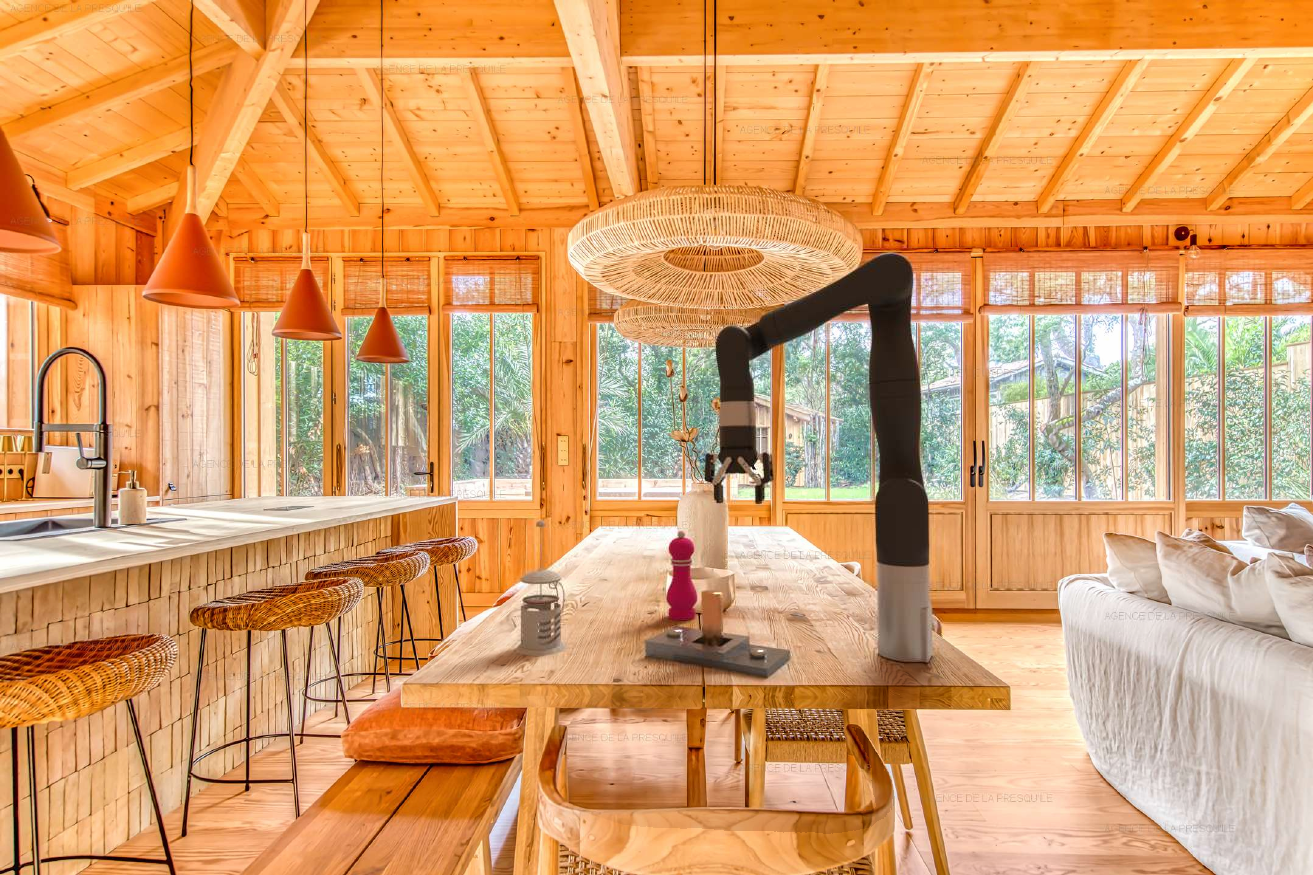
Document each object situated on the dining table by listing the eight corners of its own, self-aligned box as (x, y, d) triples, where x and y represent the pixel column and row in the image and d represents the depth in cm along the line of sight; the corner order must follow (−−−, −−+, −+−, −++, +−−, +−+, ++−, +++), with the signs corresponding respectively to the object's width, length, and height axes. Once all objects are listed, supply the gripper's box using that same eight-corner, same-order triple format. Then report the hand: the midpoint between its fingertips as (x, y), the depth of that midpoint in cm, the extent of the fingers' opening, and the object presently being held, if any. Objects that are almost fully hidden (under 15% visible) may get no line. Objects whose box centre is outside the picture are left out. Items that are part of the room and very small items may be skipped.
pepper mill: (700, 614, 156) (699, 529, 157) (693, 621, 149) (693, 532, 150) (670, 612, 158) (670, 528, 159) (662, 619, 151) (662, 532, 152)
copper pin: (726, 655, 124) (726, 591, 124) (717, 661, 121) (717, 595, 121) (707, 652, 126) (706, 589, 126) (698, 658, 123) (697, 593, 123)
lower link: (790, 658, 122) (790, 644, 122) (767, 677, 112) (767, 662, 112) (702, 644, 131) (702, 632, 131) (673, 661, 121) (673, 647, 121)
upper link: (749, 652, 126) (749, 631, 126) (723, 670, 116) (723, 647, 116) (675, 640, 134) (675, 620, 134) (645, 656, 124) (645, 635, 124)
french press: (504, 651, 128) (504, 521, 128) (542, 636, 138) (541, 516, 139) (545, 658, 123) (545, 524, 124) (581, 642, 133) (580, 518, 134)
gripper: (776, 424, 136) (778, 503, 135) (713, 426, 143) (714, 501, 142) (764, 422, 129) (765, 505, 129) (698, 425, 136) (699, 504, 136)
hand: (738, 503), depth 136 cm, fingers open, 8 cm apart
